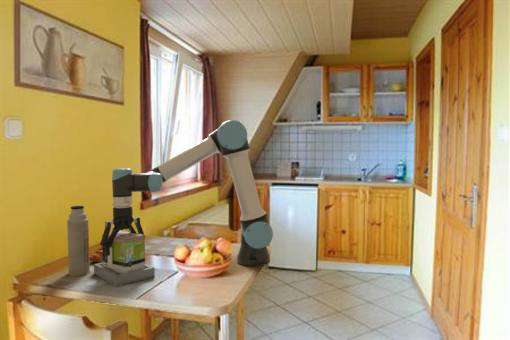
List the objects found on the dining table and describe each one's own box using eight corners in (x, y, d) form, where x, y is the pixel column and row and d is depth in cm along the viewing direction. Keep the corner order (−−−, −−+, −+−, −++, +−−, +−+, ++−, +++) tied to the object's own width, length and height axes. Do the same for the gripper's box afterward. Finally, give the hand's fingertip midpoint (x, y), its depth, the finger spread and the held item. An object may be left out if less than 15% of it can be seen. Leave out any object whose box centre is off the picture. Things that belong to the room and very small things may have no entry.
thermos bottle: (93, 270, 168) (92, 205, 166) (81, 276, 160) (80, 208, 158) (76, 269, 169) (75, 204, 168) (64, 275, 162) (62, 207, 160)
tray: (154, 277, 159) (154, 267, 159) (116, 287, 148) (116, 276, 148) (130, 265, 175) (130, 256, 174) (94, 273, 164) (93, 264, 163)
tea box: (146, 269, 161) (145, 234, 160) (125, 276, 153) (125, 238, 152) (122, 263, 170) (121, 229, 169) (102, 269, 161) (101, 233, 160)
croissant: (125, 259, 195) (121, 244, 197) (137, 253, 190) (132, 237, 192) (85, 269, 178) (80, 252, 180) (96, 263, 173) (91, 245, 175)
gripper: (97, 211, 149) (99, 268, 150) (153, 204, 165) (154, 256, 166) (89, 208, 154) (91, 264, 156) (144, 202, 170) (145, 252, 172)
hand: (123, 260), depth 161 cm, fingers closed on tea box, 11 cm apart
